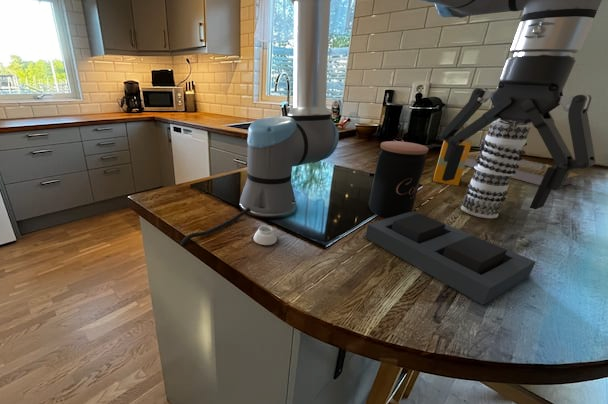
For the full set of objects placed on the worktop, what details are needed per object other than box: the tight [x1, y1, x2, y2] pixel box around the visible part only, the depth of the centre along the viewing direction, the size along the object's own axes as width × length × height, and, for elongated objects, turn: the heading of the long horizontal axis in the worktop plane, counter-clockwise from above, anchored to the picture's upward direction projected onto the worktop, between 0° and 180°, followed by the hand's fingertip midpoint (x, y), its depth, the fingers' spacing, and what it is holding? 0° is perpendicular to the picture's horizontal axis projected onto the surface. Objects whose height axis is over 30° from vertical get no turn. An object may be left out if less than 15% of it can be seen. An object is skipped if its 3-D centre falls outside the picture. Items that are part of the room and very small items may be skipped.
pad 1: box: [391, 212, 447, 244], centre depth 64 cm, size 9×6×5 cm, turn 119°
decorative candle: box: [460, 118, 534, 219], centre depth 77 cm, size 9×9×25 cm
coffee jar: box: [368, 140, 429, 219], centre depth 77 cm, size 11×11×18 cm
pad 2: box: [443, 235, 508, 275], centre depth 55 cm, size 9×6×5 cm, turn 118°
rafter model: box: [465, 150, 581, 186], centre depth 115 cm, size 35×14×6 cm, turn 23°
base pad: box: [364, 210, 537, 306], centre depth 60 cm, size 16×24×4 cm, turn 28°
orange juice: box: [432, 124, 473, 186], centre depth 102 cm, size 8×9×20 cm
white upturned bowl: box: [253, 225, 278, 246], centre depth 64 cm, size 5×3×5 cm
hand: (487, 192), depth 51 cm, fingers open, 13 cm apart
